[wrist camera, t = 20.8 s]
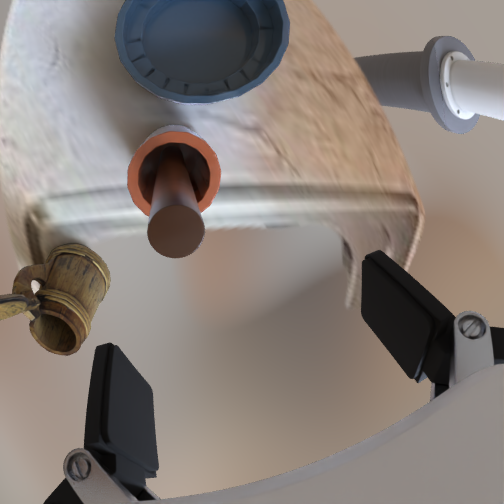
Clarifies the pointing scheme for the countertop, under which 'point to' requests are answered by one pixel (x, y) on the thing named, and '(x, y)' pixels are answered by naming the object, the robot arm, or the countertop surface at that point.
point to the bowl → (201, 46)
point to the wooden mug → (60, 297)
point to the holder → (196, 159)
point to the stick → (174, 208)
